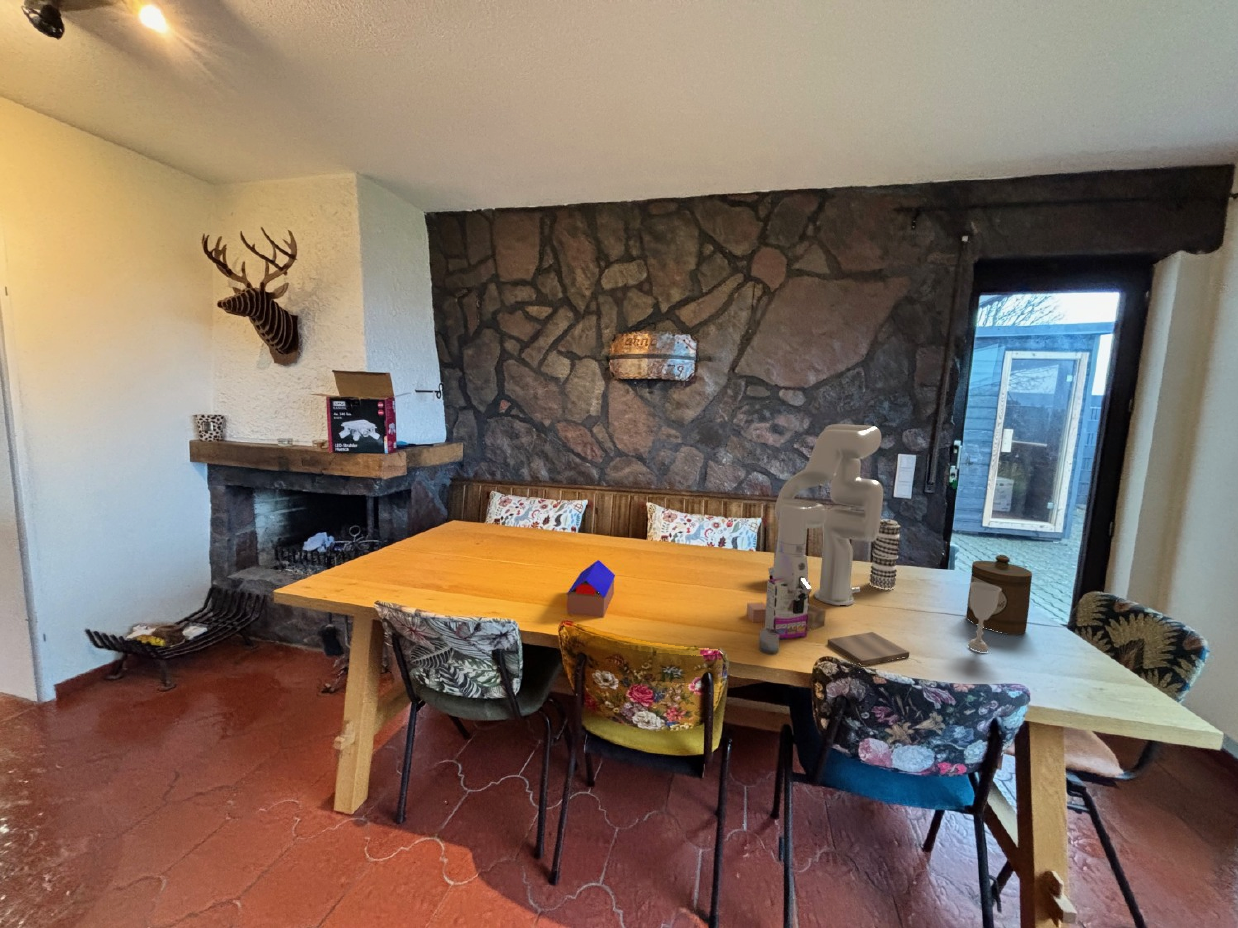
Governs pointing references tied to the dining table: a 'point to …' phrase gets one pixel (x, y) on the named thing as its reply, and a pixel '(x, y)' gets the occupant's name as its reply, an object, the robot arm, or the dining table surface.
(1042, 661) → the dining table surface
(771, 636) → the grey metal cylinder
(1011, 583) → the wooden container
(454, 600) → the dining table surface
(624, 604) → the dining table surface
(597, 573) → the house
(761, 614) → the terracotta block
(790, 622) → the candy bar box
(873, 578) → the decorative candle
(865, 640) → the walnut board
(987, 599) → the chalice
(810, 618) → the dark oak block
